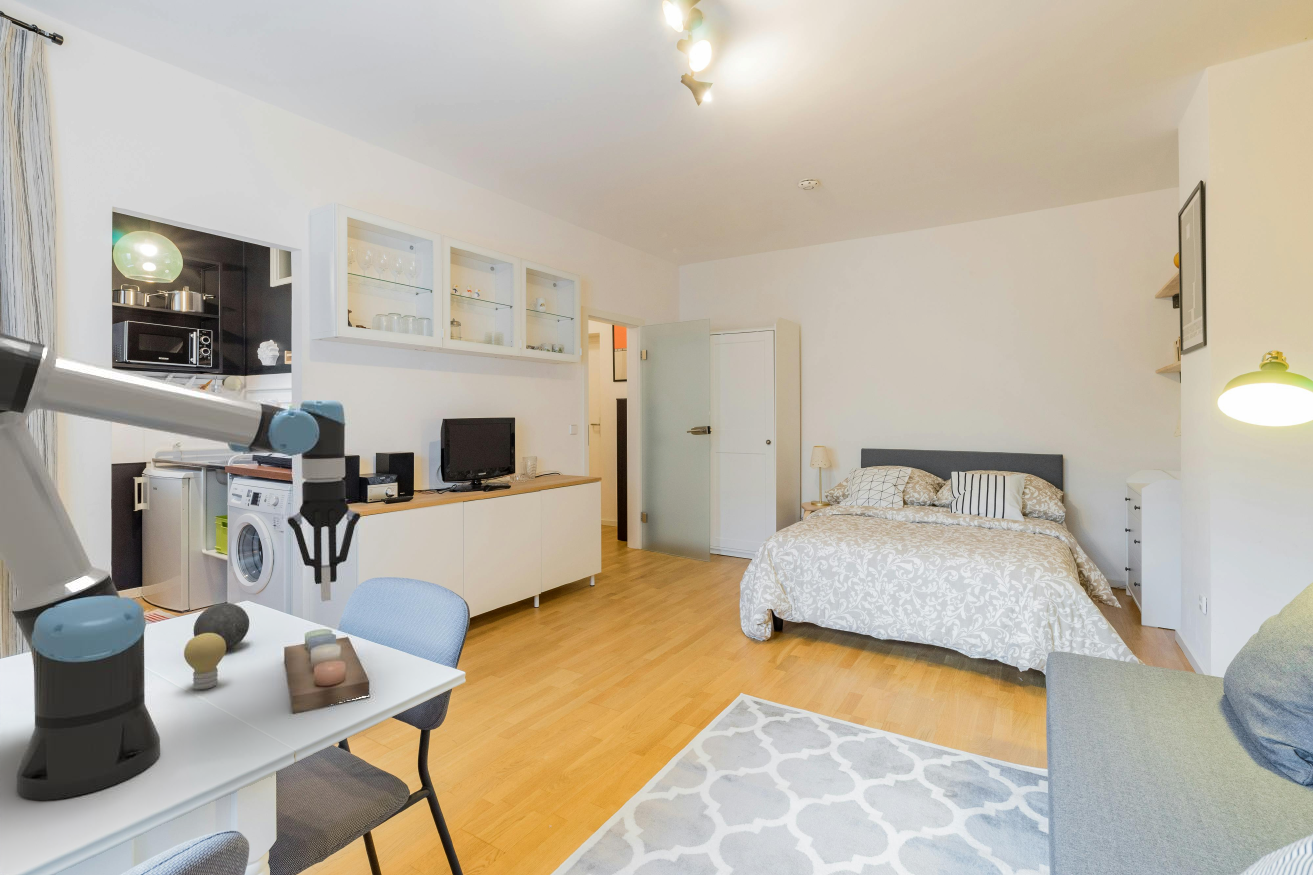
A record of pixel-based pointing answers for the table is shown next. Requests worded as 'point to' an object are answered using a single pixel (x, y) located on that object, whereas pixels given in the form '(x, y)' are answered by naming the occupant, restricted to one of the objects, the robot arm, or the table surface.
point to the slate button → (320, 640)
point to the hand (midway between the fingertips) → (325, 598)
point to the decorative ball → (224, 623)
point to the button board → (316, 696)
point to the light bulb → (205, 658)
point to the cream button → (325, 653)
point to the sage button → (315, 632)
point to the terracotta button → (329, 673)
